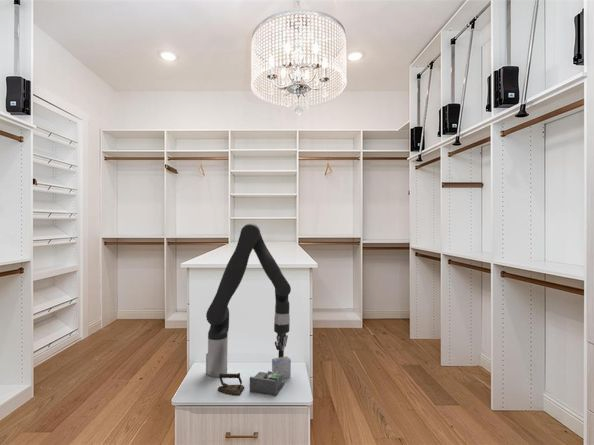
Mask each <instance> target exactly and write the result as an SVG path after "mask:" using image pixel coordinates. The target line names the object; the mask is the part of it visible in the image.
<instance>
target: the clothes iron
mask: <svg viewBox="0 0 594 445" xmlns="http://www.w3.org/2000/svg"><path fill="white" fill-rule="evenodd" d="M218 378H219V381H220V384H221V385H220V386H219V387H218V388H217V391H218V392H219V393H222V394H224V395H230V396H234V397H235V396H237V397H240V396H241V394H242V393H243V391H244V390H245V386H244V384H243V381H242V378H241V373H240V372H238V373H227V374H222V373H220V375H219V377H218ZM223 379H238V381H239V382H238V383H240V384H228V383H226V382H224V380H223Z"/></svg>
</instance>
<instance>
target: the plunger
mask: <svg viewBox="0 0 594 445" xmlns="http://www.w3.org/2000/svg"><path fill="white" fill-rule="evenodd" d="M267 373H268V377H266V376H265V379H275V380H277V378H270V377H271V376H272V375H273V374H274V373H275V372H273V371H272V370H268V371H267Z"/></svg>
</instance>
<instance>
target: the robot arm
mask: <svg viewBox="0 0 594 445" xmlns="http://www.w3.org/2000/svg"><path fill="white" fill-rule="evenodd" d="M252 251H254V253H255V255H256V256H257V259H258V261H259V263H260V266H261V267H262V270H263V271H264V273H265V275H266V276H267V278H268V279H269V281H270V282H271V283H272V285H273V287H274V296H275V297H274V298H275V305H274V307H275V308H274V309H275V310H274V319H273V321H274V323H273V332H274V333H276V340H275V341H274V346H275V348H276V349H275V350H277V351H278V357H277V358H280V357H285V355H284V354H285V348H286V346H287V342H288V338H289V337H288V336H289V335H288V334H287V333H289V332H290V320H291V317H290V301H289V295H290V293H291V291H292V290H291V289H292V288H291V285H290V283H289V282H288V280H287V278H286V277H285V276H284V274H283V273H282V270H281V269H280V266H279V265H278V263H277V262H276V260H275V258H274V257H273V255H272V254H271V252H270V250H269V249H268V248H267V245H266V243H265V241H264V239H263V236H262V233H261V230H260V227H259V226H258V225H257V224H255V223H247V224H245V225H244V226H243V227H242V228H241V230H240V234H239V237H238V241H237V244H236V247H235V250H234V251H233V254H232V255H231V257H230V259H229V260H228V262H227V264H226V267H225V268H224V269H225V270H224V271H223V274H222V277H221V278H220V282H219V285H218V288H217V290H216V293H215V296H214V298H213V299H212V302H211V303H210V305H209V307H208V309H207V310H206V313H205V318H206V321H207V323H209V324H210V326H209V330H208V333H207V353H205V375H207V376H209V377H213V378H217V377H218V378H219V375H220V373H222V374H228V345H229V344H228V335H229V328H230V309H229V307H228V306H229V304H230V301H231V299H232V297H233V296H234V294H235V293H236V291H237V289H238V288H239V286H240V284H241V282H242V280H243V277H244V275H245V272H246V269H247V267H248V263H249V259H250V256H251V253H252Z"/></svg>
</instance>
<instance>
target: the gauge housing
mask: <svg viewBox="0 0 594 445" xmlns="http://www.w3.org/2000/svg"><path fill="white" fill-rule="evenodd" d="M282 374H283V373H277V372H275V373H274V374H273V375H272V376H271V377H270V378H277V380H275V379H265V376H266V377H268V372H264V371H258V373H257V374H255V375H254V376H250V377H249V393H255V394H259V395H265V396H266V395H267V396H272V397H276V396H278V394H279V393H280V392H281V390H282V389H283V388H284V387H285V385H286V383H285V382H284V381H283V379H282Z"/></svg>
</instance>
